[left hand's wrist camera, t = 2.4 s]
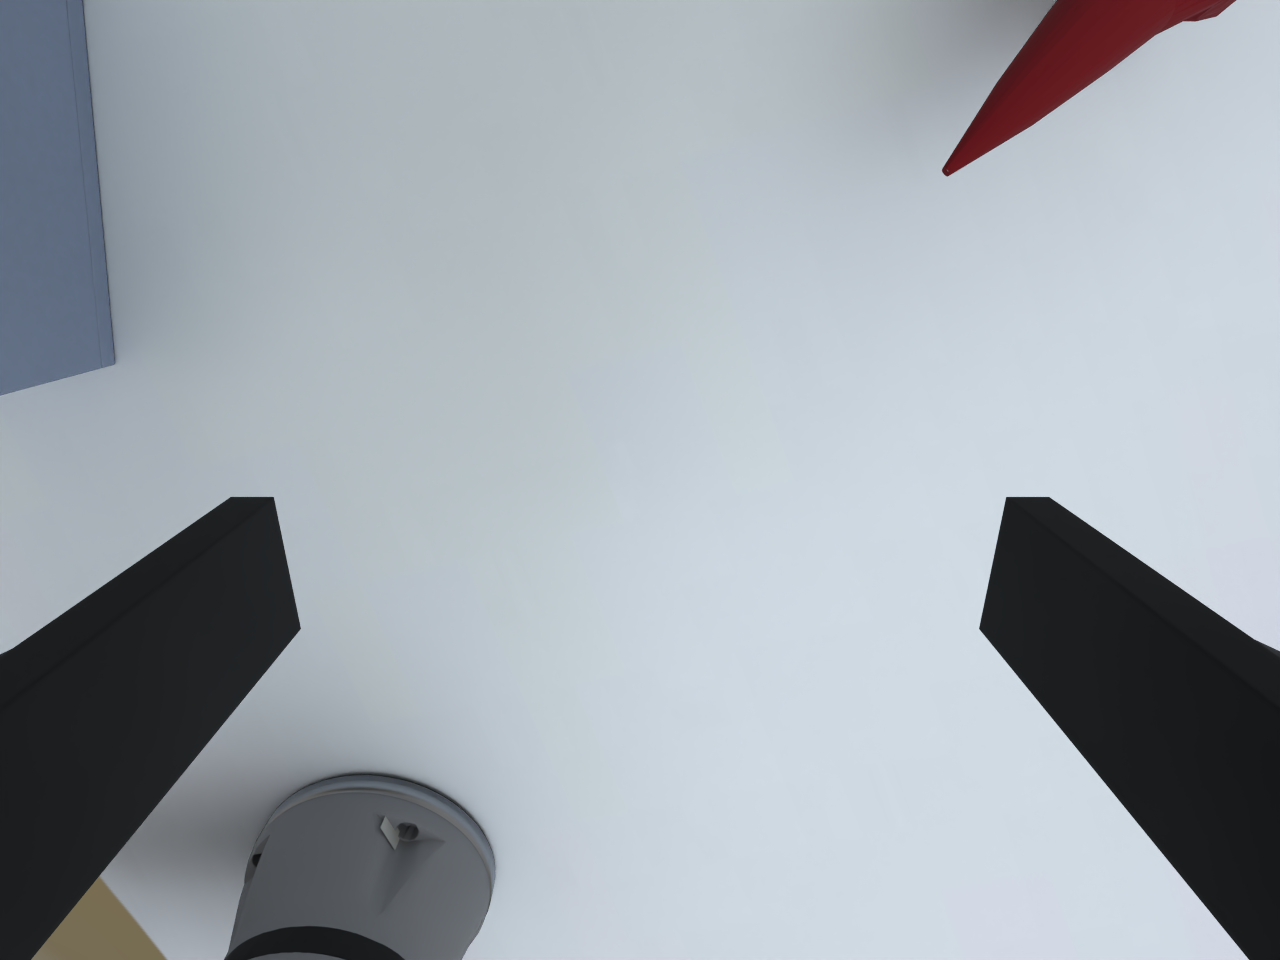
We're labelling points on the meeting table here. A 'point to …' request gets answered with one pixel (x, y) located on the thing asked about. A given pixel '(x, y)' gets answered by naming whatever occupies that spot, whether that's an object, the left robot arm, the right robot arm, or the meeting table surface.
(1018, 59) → the toy
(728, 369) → the meeting table surface
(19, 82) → the cabinet
